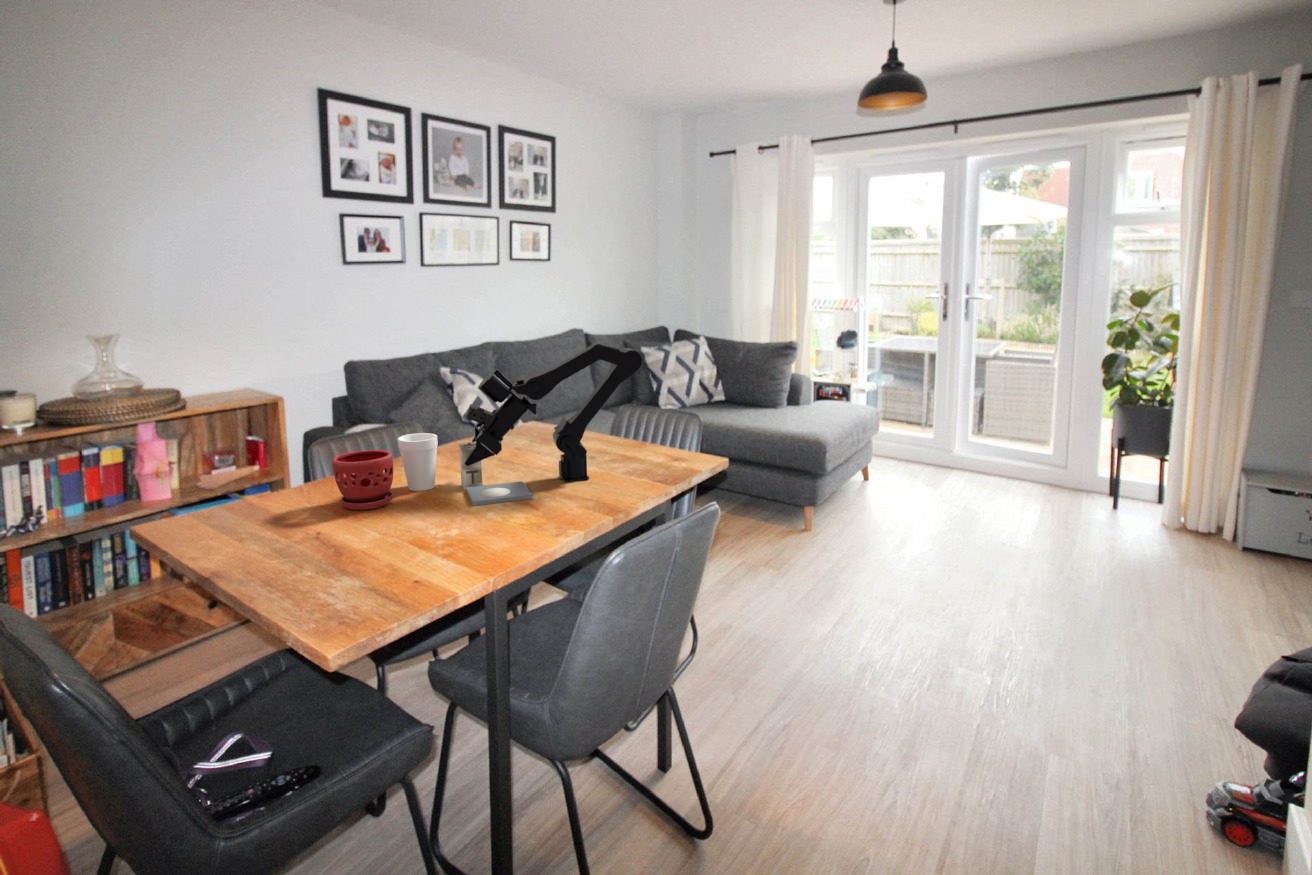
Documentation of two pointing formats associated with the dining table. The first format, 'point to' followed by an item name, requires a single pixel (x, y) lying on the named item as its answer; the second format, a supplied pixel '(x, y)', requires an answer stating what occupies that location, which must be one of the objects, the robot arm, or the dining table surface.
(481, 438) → the robot arm
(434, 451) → the foam cup
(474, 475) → the letter block
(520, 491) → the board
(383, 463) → the plant pot
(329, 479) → the dining table surface
